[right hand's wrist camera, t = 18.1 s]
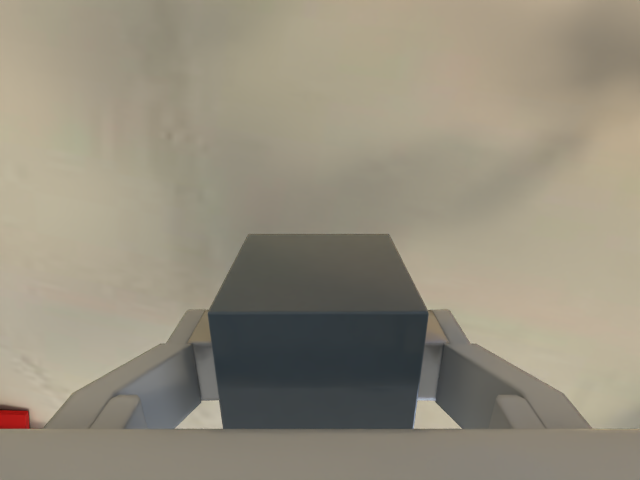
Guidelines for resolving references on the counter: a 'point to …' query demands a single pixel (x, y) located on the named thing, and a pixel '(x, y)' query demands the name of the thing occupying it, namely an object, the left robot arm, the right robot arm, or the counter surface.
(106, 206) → the counter surface
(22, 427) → the toy
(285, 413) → the block
